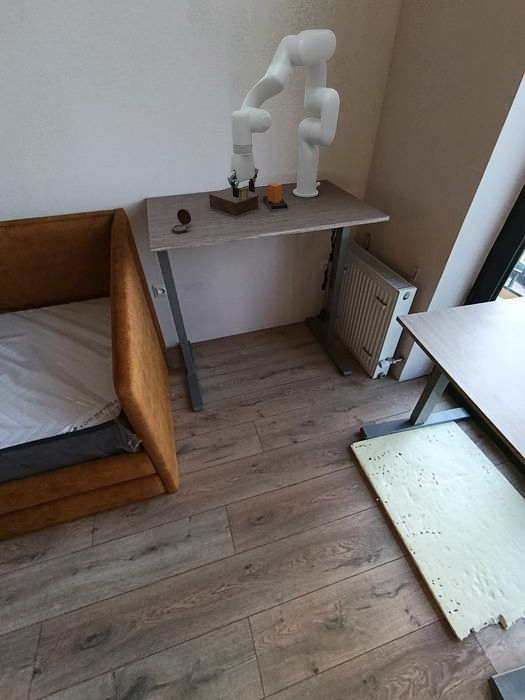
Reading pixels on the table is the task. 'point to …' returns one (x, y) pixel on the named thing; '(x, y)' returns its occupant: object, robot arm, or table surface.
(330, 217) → the table surface
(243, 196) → the case lid
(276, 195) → the block
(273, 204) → the vhs tape
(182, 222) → the compass
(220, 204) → the case
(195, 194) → the table surface
